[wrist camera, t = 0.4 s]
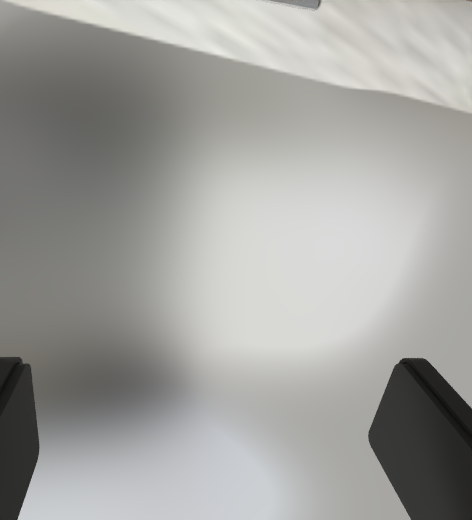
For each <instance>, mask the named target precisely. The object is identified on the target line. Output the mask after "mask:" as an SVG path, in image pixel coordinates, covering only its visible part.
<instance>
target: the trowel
mask: <svg viewBox="0 0 472 520" xmlns="http://www.w3.org/2000/svg"><path fill="white" fill-rule="evenodd" d="M257 1H263V2H268V3H273V4H279V5H284V6H289V7H295V8H300V9H305V10H311V11H315V10H317V7H318V2H319V0H257Z"/></svg>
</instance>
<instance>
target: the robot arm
mask: <svg viewBox="0 0 472 520" xmlns="http://www.w3.org/2000/svg"><path fill="white" fill-rule="evenodd" d="M368 437H369V442H370V445H371V447H372V449H373V451H374V453H375V455H376V456H377V458H378V460H379V462H380V464H381V465H382V467H383V469H384V471H385V473H386V475H387V477H388V478H389V480H390V482H391V484H392V486H393V487H394V489H395V491H396V493H397V494H398V497H399V498H400V500H401V502H402V504H403V505H404V507H405V509H406V511H407V513H408V515H409V516H410V518H411V520H472V409H471V407H470V406H469V405H468V404H467V403H466V402H465V401H464V400H463V399H462V398H461V397H460V395H459V394H458V393H457V392H456V391H455V390H454V389H453V388H452V387H451V386H450V385H449V384H448V382H447V381H446V380H445V379H444V378H443V377H442V376H441V375H440V374H439V373H438V371H437V370H436V369H435V368H434V367H433V366H432V365H431V364H430V363H429V362H428V361H427V360H426V359H423V358H404V359H402V360H400V362H399V364H396V365H395V367H394V369H393V372H392V374H391V377H390V379H389V382H388V384H387V387H386V389H385V392H384V394H383V397H382V400H381V402H380V405H379V407H378V410H377V412H376V415H375V417H374V420H373V423H372V425H371V428H370V430H369V435H368ZM38 455H39V439H38V429H37V420H36V411H35V402H34V393H33V385H32V375H31V367H30V365H29V364H23V363H22V359H21V358H19V357H0V520H17V519H18V516H19V513H20V510H21V507H22V504H23V501H24V498H25V496H26V493H27V490H28V487H29V484H30V481H31V478H32V475H33V472H34V469H35V466H36V463H37V460H38Z"/></svg>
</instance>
